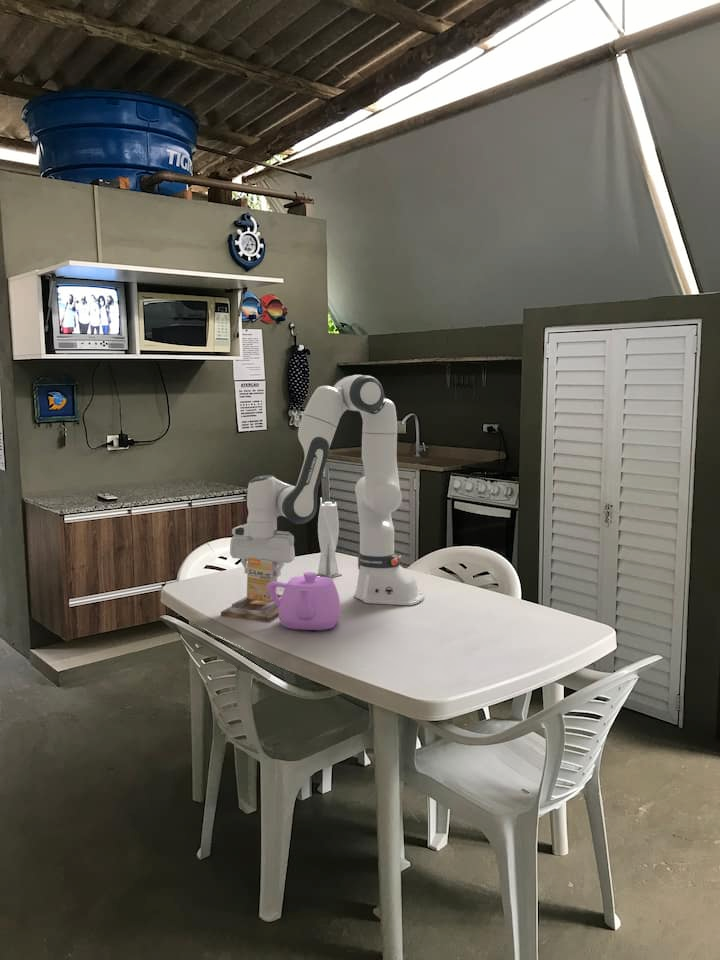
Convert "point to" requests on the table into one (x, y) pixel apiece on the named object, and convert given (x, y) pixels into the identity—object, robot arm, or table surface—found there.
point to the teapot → (307, 602)
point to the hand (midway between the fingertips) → (262, 574)
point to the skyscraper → (328, 539)
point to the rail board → (253, 609)
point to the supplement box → (260, 578)
